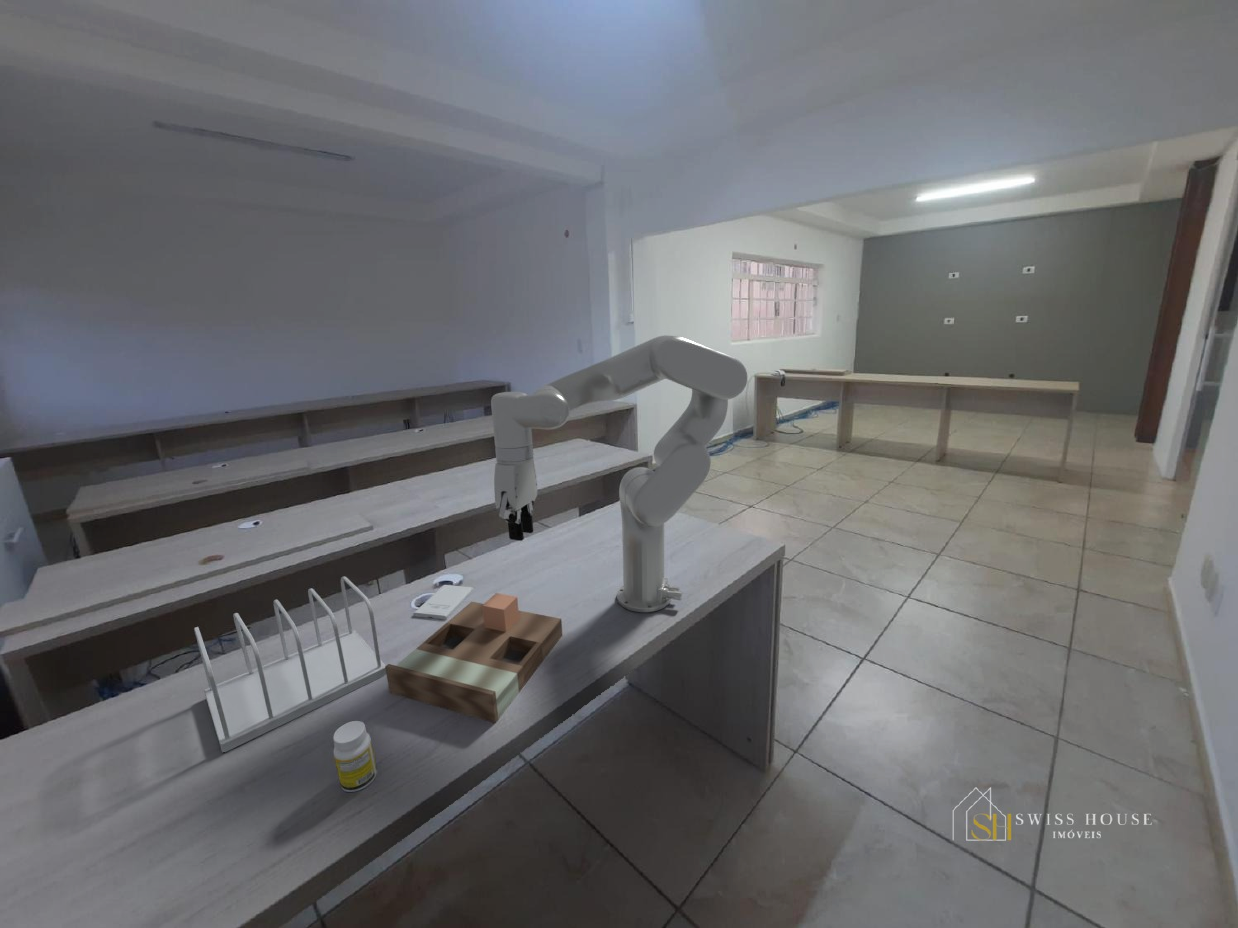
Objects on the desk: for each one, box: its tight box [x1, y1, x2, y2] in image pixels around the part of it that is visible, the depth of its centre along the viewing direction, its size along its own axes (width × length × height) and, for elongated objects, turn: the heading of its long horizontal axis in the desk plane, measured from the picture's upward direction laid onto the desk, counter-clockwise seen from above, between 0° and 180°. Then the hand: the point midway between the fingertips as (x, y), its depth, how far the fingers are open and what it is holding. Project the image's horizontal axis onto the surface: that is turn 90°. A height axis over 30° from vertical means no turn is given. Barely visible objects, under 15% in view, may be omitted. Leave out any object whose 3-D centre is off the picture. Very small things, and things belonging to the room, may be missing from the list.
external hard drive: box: [413, 584, 474, 621], centre depth 117 cm, size 2×8×12 cm
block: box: [482, 592, 520, 632], centre depth 101 cm, size 5×5×5 cm
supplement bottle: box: [332, 720, 378, 793], centre depth 70 cm, size 5×5×8 cm
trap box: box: [385, 601, 563, 724], centre depth 95 cm, size 22×25×6 cm
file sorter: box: [193, 576, 387, 753], centre depth 89 cm, size 25×17×16 cm
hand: (521, 534), depth 106 cm, fingers open, 3 cm apart
